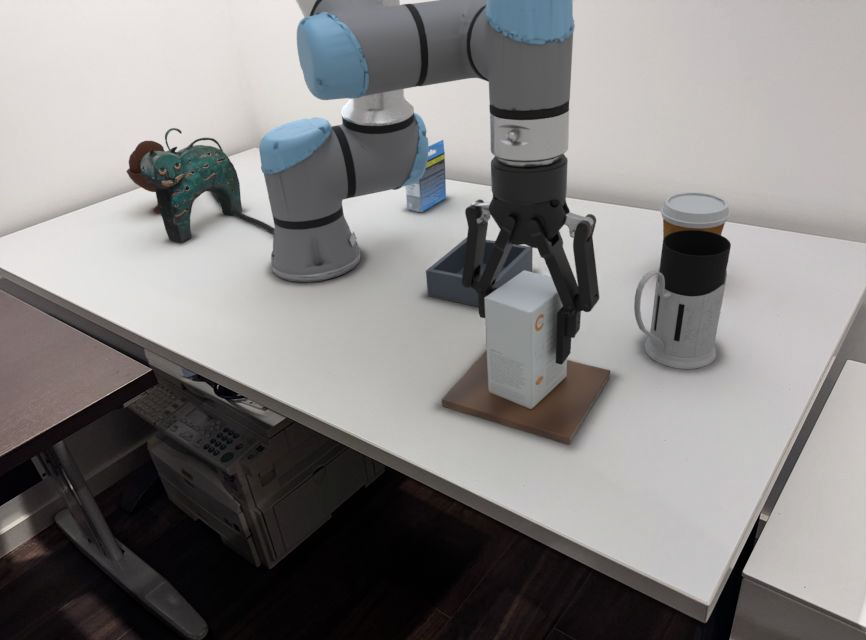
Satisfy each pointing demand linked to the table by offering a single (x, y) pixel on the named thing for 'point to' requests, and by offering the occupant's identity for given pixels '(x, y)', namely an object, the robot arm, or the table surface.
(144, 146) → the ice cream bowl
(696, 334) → the glass holder
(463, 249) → the bin
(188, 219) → the ceramic cat
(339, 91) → the robot arm
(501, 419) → the board
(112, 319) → the table surface
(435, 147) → the label tape box
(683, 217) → the disposable coffee cup
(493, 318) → the small box
